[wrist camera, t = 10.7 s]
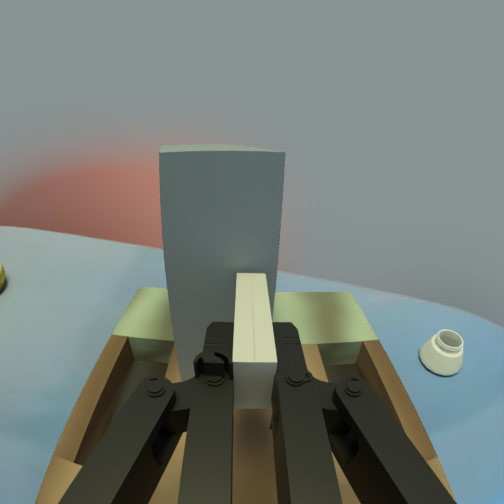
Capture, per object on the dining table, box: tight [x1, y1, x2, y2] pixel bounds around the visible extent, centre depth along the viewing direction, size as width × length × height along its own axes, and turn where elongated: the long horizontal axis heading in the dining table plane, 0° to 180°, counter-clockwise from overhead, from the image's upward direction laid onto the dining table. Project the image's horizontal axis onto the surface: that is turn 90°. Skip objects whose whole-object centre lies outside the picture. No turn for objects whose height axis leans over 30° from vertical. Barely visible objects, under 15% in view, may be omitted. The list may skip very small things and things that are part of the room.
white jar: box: [419, 329, 463, 376], centre depth 22 cm, size 5×3×5 cm
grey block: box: [159, 144, 285, 382], centre depth 21 cm, size 6×12×14 cm, turn 17°
